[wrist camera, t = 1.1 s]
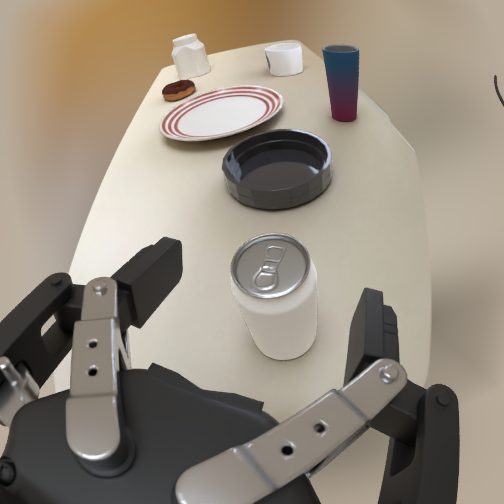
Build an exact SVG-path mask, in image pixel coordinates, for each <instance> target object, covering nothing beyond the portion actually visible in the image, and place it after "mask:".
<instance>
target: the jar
mask: <svg viewBox="0 0 504 504" xmlns="http://www.w3.org/2000/svg"><path fill="white" fill-rule="evenodd" d="M173 44H174V48H173V52H172V54H171V55H172V57H173V60H174V63H175V66H176V69H177V72H178V77H179V79H180V80H186V79H189V78H193V77H198V76H202V75H205V74H206V73H208V72H209V71H210V70H211V68H210V66H209V62H208V59H207V55H206V51H205V47H204V44H203V43H201V42H200V41H198V40H197V37H196V34H189V35H185V36H182V37H179V38H177V39H174V40H173Z"/></svg>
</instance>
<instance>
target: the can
mask: <svg viewBox="0 0 504 504" xmlns="http://www.w3.org/2000/svg"><path fill="white" fill-rule="evenodd" d="M230 283H231V289H232V293H233V295H234V298H235V300H236V303H237V305H238V307H239V309H240V312H241V314H242V316H243V318H244V320H245V322H246V325H247V327H248V329H249V331H250V333H251V335H252V337H253V339H254V341H255V343H256V345H257V347H258V348H259V349H260V351H261V352H262V353H264V354H265V355H266V356H268V357H270V358H273V359H277V360H290V359H294V358H297V357H299V356H301V355H303V354H304V353H305V352H306V351H308V349H309V348H310V347H311V346H312V344H313V342H314V340H315V337H316V332H317V275H316V269H315V265H314V263H313V261H312V259H311V258H310V256H309V253H308V251H307V249H306V248H305V246H304V245H303V244H302V243H301V242H300V241H299V240H297V239H296V238H294V237H292V236H289V235H286V234H280V233H268V234H263V235H259V236H256V237H254V238H252V239H250V240H248V241H247V242H245V243H244V244H243V245H242V246H241V247H240V248H239V249H238V250H237V252H236V253H235V255H234V257H233V259H232V262H231V279H230Z"/></svg>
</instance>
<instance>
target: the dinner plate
mask: <svg viewBox="0 0 504 504" xmlns="http://www.w3.org/2000/svg"><path fill="white" fill-rule="evenodd" d="M282 105H283V98H282V96H281V95H280V94H279V93H278V92H276V91H274V90H272V89H269V88H266V87H260V86H231V87H224V88H219V89H215V90H211V91H207V92H204V93H201V94H198V95H196V96H193V97H191V98H189V99H187V100H185V101H183V102H181V103H179V104H178V105H176V106H175V107H173V108H172V109H171V110H169V111H168V112H167V113H166V114H165V115H164V116H163V118H162V119H161V121H160V123H159V130H160V132H161V133H162V134H163V135H164V136H166V137H168V138H170V139H174V140H180V141H203V140H211V139H217V138H222V137H226V136H230V135H234V134H237V133H240V132H243V131H245V130H248V129H250V128H253V127H255V126H257V125H259V124H261V123H263V122H265V121H267V120H268V119H270V118H271V117H273V116H274V115H275V114H276V113H277V112H278V111H279V110H280V109H281V107H282Z"/></svg>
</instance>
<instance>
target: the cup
mask: <svg viewBox="0 0 504 504" xmlns="http://www.w3.org/2000/svg"><path fill="white" fill-rule="evenodd" d="M322 50H323V56H324V62H325V68H326V75H327V82H328V88H329V96H330V103H331V111H332V117H333V118H334V119H335V120H337V121H341V122H350V121H353V120H355V119H356V116H357V99H358V77H359V48H358V47H355V46H351V45H343V44H334V45H327V46H324V47H322Z"/></svg>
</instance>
